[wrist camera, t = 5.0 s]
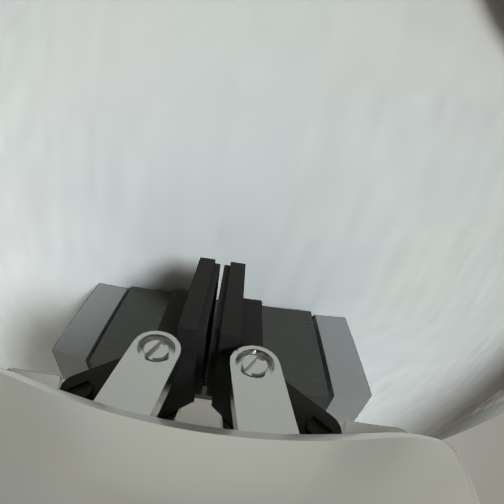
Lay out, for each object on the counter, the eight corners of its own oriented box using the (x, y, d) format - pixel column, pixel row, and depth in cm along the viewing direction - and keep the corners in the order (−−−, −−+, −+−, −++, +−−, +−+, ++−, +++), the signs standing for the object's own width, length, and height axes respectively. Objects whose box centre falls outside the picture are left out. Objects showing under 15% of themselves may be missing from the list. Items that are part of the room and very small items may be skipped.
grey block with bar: (344, 314, 14) (383, 433, 8) (309, 395, 17) (322, 493, 11) (100, 280, 13) (30, 381, 7) (116, 368, 16) (79, 458, 10)
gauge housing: (345, 317, 14) (372, 397, 10) (285, 444, 20) (288, 498, 16) (99, 282, 14) (51, 351, 9) (130, 422, 20) (114, 474, 15)
